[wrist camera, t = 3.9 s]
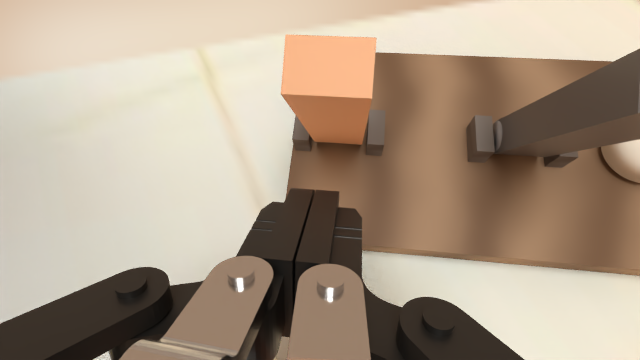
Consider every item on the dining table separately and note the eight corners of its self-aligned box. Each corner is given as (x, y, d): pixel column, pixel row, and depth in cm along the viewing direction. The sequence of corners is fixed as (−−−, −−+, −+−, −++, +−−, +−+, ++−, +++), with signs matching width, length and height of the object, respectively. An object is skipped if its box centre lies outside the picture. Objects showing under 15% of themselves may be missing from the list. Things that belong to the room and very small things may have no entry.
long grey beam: (487, 155, 22) (637, 113, 10) (489, 124, 22) (641, 47, 10) (537, 158, 22) (748, 118, 10) (539, 127, 22) (750, 51, 10)
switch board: (285, 243, 23) (275, 231, 19) (309, 67, 27) (304, 33, 24) (683, 279, 20) (751, 273, 17) (634, 81, 25) (679, 46, 22)
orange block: (316, 144, 23) (280, 93, 11) (318, 114, 23) (285, 34, 11) (361, 146, 23) (371, 98, 11) (363, 116, 23) (376, 37, 11)
